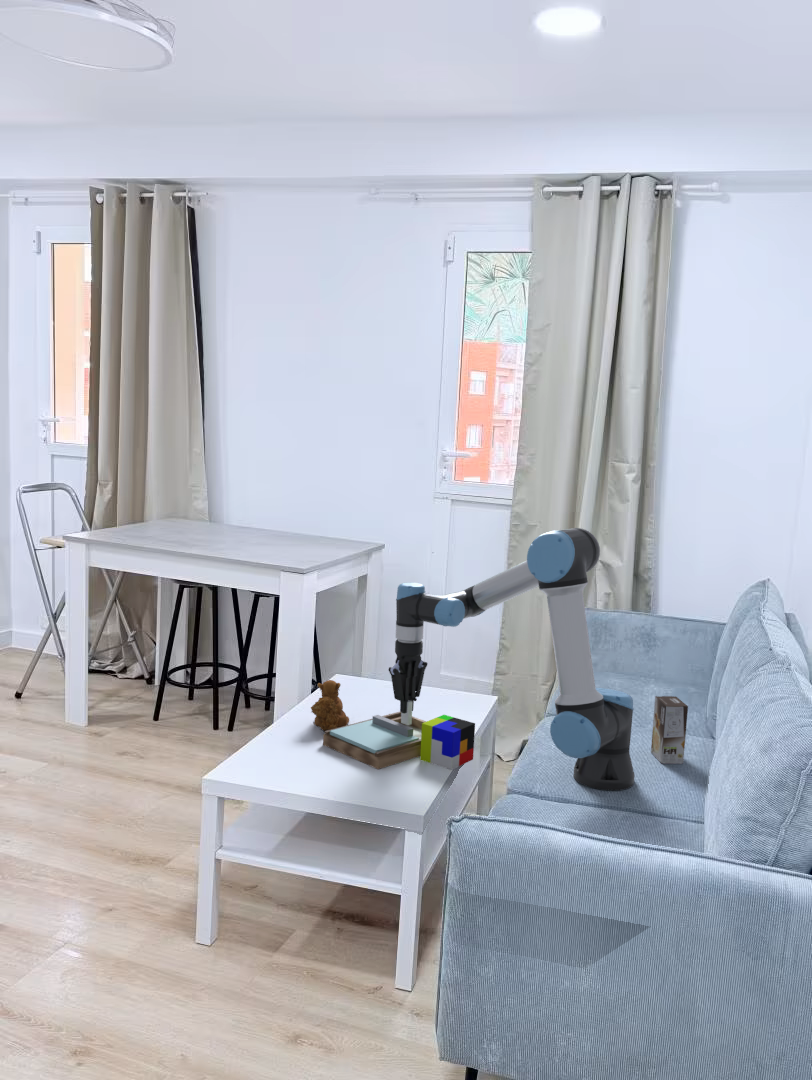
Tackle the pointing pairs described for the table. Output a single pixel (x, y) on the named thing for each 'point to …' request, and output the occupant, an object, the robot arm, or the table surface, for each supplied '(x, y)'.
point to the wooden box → (384, 756)
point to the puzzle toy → (447, 741)
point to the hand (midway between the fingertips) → (406, 723)
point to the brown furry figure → (329, 707)
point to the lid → (376, 734)
